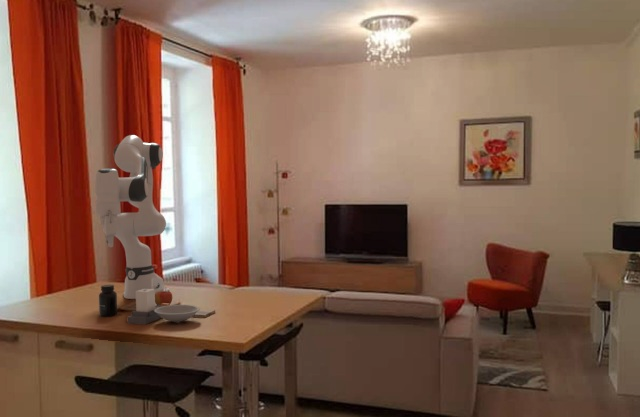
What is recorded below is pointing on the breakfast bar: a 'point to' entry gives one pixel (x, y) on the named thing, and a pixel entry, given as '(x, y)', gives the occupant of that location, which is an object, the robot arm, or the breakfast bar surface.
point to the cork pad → (203, 313)
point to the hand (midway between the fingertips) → (109, 245)
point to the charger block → (145, 300)
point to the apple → (163, 297)
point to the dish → (177, 312)
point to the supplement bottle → (107, 301)
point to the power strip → (145, 316)
